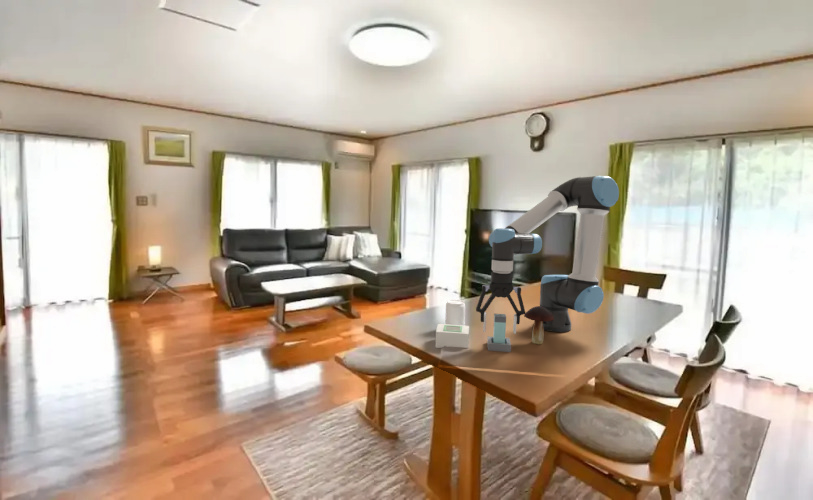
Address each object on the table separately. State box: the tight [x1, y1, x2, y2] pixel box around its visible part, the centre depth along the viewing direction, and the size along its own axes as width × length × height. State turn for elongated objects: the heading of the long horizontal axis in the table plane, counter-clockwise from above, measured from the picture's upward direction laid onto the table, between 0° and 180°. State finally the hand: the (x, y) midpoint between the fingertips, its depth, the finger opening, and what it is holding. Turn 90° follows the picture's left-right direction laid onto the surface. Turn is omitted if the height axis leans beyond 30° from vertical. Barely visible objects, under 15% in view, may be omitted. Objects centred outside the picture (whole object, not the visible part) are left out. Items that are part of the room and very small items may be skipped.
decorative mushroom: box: [523, 305, 554, 345], centre depth 151 cm, size 11×11×15 cm
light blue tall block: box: [492, 313, 507, 344], centre depth 146 cm, size 4×4×12 cm
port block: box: [435, 323, 470, 349], centre depth 151 cm, size 12×10×6 cm
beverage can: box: [444, 299, 466, 326], centre depth 169 cm, size 8×8×12 cm
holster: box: [486, 335, 512, 353], centre depth 147 cm, size 8×8×3 cm
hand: (499, 331), depth 146 cm, fingers open, 10 cm apart
